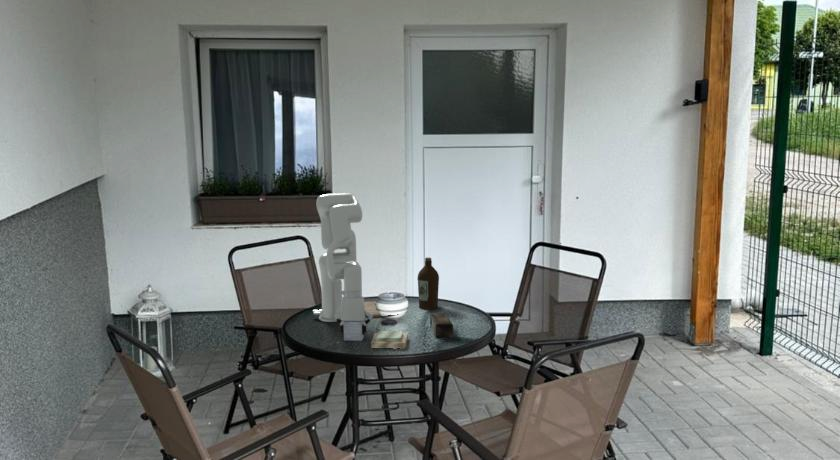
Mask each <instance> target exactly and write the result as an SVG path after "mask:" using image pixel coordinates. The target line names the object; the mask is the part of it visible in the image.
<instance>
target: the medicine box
mask: <svg viewBox="0 0 840 460" xmlns="http://www.w3.org/2000/svg"><path fill="white" fill-rule="evenodd" d="M343 323H344V335H343V341H344V342H345V341H349V342H350V341H354V342H355V341H356V342H361V341H363V339H364V338H365V334H364V335H362V326H363V323H362V321H344V322H343Z"/></svg>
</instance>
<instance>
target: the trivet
mask: <svg viewBox="0 0 840 460" xmlns="http://www.w3.org/2000/svg"><path fill="white" fill-rule="evenodd" d="M376 301H377V300H376ZM376 301H364V302H365V310H366V311H367V312H369V313H370V314H372V315H373V317H372V318H382V317H381V315H380V314H379V312H378V311H377V310H376V306H375V304H376ZM365 318H369V317H368V316H367V315H365Z"/></svg>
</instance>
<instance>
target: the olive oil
mask: <svg viewBox="0 0 840 460" xmlns="http://www.w3.org/2000/svg"><path fill="white" fill-rule="evenodd" d="M432 263H433V261H432V257H425V258H424V266H423V267H422V268H421V269H420V270H419V271H418V274H417V290H418V292H417V293H418V307H419V309H422V310H435V309H437V308H438V305H439V283H440V275H439V272H438V271H437V269H436V268H435V267H434V266H433V264H432Z"/></svg>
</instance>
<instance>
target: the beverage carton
mask: <svg viewBox="0 0 840 460" xmlns="http://www.w3.org/2000/svg"><path fill="white" fill-rule="evenodd" d="M429 315H430V317H429V326H430V329H431V330H432V332H433V335H434V337H435V338H453V336H454V324H453V323H452V321H451V319H450V318H449V316H448V314H447V313H437V312H434V313H430V314H429Z"/></svg>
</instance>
